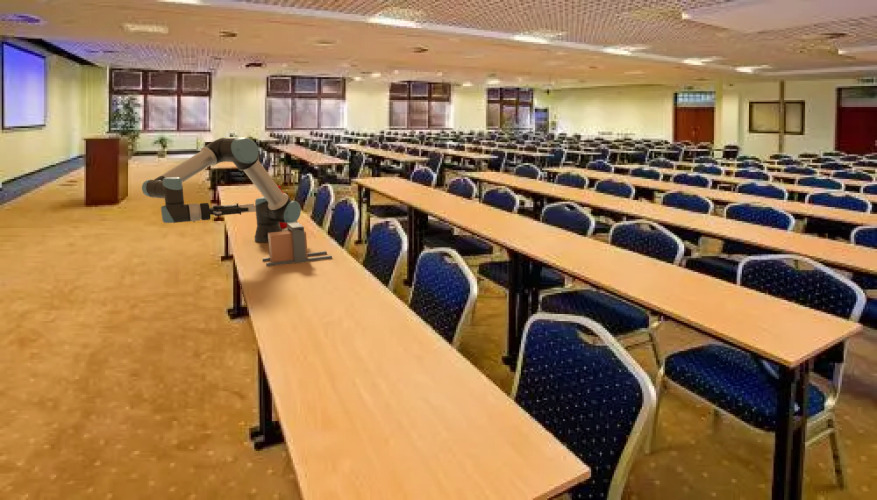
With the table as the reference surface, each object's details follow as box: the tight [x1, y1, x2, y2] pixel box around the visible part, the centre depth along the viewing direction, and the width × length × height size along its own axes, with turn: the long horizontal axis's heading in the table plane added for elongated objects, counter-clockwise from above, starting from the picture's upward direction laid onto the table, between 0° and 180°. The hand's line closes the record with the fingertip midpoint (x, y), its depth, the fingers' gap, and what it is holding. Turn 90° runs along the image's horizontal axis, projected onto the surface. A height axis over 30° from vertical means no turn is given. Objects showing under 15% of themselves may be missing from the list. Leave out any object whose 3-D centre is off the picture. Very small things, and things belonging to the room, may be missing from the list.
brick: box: [268, 230, 309, 262], centre depth 282 cm, size 16×7×13 cm, turn 115°
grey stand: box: [261, 221, 333, 267], centre depth 283 cm, size 30×13×16 cm, turn 115°
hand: (254, 207), depth 278 cm, fingers open, 4 cm apart
